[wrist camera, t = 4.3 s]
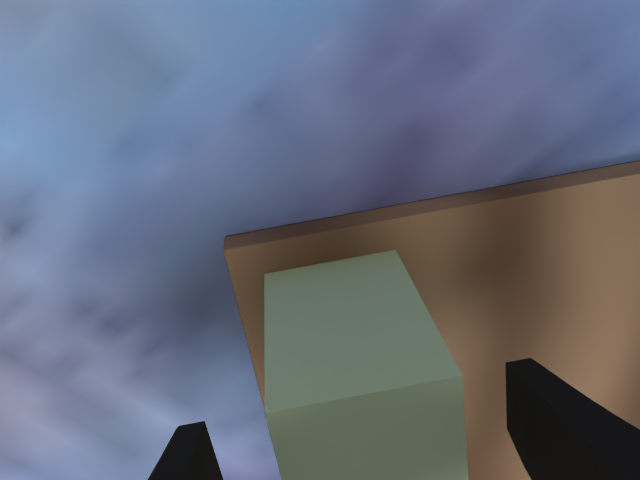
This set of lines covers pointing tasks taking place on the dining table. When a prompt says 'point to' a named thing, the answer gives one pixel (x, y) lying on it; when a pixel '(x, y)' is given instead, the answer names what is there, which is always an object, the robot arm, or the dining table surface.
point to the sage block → (359, 376)
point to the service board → (493, 288)
